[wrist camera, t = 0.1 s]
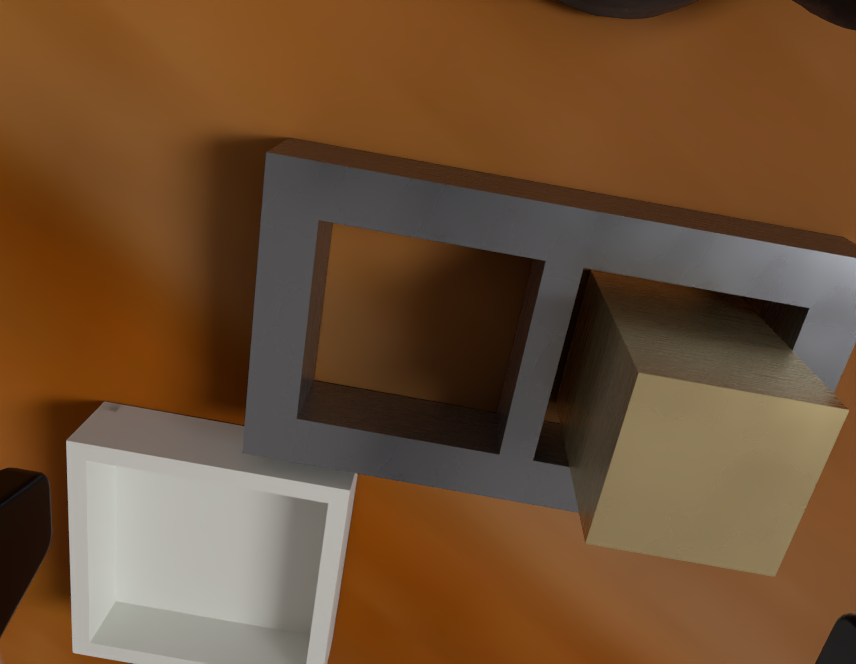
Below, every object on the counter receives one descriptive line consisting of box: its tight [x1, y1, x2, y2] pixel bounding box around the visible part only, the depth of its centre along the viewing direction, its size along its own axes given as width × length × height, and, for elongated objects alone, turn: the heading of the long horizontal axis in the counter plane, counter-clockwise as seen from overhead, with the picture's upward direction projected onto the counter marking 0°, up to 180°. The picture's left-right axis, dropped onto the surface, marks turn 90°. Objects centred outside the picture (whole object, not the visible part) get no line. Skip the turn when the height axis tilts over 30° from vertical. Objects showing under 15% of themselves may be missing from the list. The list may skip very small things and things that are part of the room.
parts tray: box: [66, 401, 358, 664], centre depth 25 cm, size 9×9×2 cm
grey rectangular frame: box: [242, 138, 856, 513], centre depth 22 cm, size 9×16×2 cm, turn 80°
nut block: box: [556, 270, 849, 577], centre depth 20 cm, size 4×4×7 cm
